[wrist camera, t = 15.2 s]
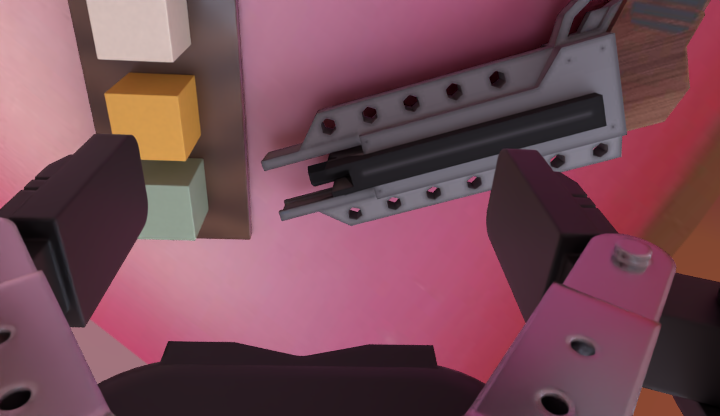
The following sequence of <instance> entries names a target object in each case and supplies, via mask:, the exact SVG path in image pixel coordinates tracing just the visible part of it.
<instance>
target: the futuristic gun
mask: <svg viewBox="0 0 720 416" xmlns="http://www.w3.org/2000/svg"><path fill="white" fill-rule="evenodd" d="M590 1H591V0H571V1H570V2H569V4H568V5H567V6H566V7H565V8H564V9H563V10H562V11H561V12H560V13H559V14H558V15H557V19H556V22H555V25H554V28H553V31H552V34H551V37H550V40H549V43H547V44H543V45H541V47H540V48H538V49H535V50H531V51H528V52H524V53H521V54H517V55H514V56H510V57H506V58H503V59H499V60H496V61H492V62H489V63H485V64H482V65H478V66H475V67H471V68H467V69H464V70H460V71H457V72H453V73H450V74H446V75H443V76H439V77H436V78H432V79H429V80H425V81H421V82H418V83H414V84H411V85H407V86H404V87H400V88H397V89H393V90H390V91H386V92H382V93H379V94H375V95H372V96H368V97H365V98H361V99H358V100H354V101H351V102H347V103H343V104H340V105H336V106H333V107H329V108H326V109H322V110H319V111H318V112H317V114H316V116H315V118H314V120H313V122H312V124H311V127H310V129H309V131H308V133H307V135H306V137H305V139H304V142H303V143H301V144H297V145H293V146H290V147H286V148H283V149H279V150H275V151H272V152H268V153H267V155H266V156H265V157H264V159H263V160H262V161H261V163H262V166H263V169H264V171H267V170H270V169H274V168H278V167H281V166H285V165H289V164H292V163H296V162H300V161H303V160H307V159H311V158H314V157H318V156H322V155H325V154H329V153H330V154H329V158H328V161H326V162H322V163H319V164H315V165H311V166H308V174H309V177H310V181H311V184H312V185H313V186H318V185H322V184H325V183H329V182H333V181H334V185H333V187H332V188H328V189H324V190H320V191H317V192H313V193H309V194H305V195H302V196H298V197H294V198H290V199H286V200H284V203H285V207H284V209H283V210H280V211H279V214H280V217H281V220H282V221H284V220H288V219H292V218H295V217H299V216H303V215H307V214H311V213H315V212H321V213H323V214H325V215H328V216H330V217H332V218H334V219H337V220H339V221H341V222H343V223H346V224H348V225H350V226H352V225H356V224H360V223H364V222H368V221H372V220H376V219H380V218H384V217H388V216H391V215H395V214H399V213H403V212H407V211H411V210H415V209H419V208H423V207H427V206H431V205H435V204H438V203H442V202H446V201H450V200H454V199H458V198H462V197H466V196H470V195H474V194H478V193H482V192H485V191H489V190H491V189H492V183H493V178H494V173H495V168H496V163H497V159H498V156H499V153H500V151H501V150H502V149H529V150H537V151H538V152H539V153H540V154H541V155H542V157H543V158H544V159H545V161H546V162H547V163H548V164H549V166H550V167H551V168H552V170H553V171H556V172H564V171H568V170H572V169H576V168H579V167H583V166H587V165H591V164H595V163H599V162H603V161H607V160H611V159H615V158H619V157H621V151H622V136H624V135H627V131H630V130H634V129H637V128H641V127H645V126H649V125H653V124H657V123H661V122H664V121H665V120H666V118H667V117H668V116H669V115H670V113H671V112H672V111H673V109H674V108H675V107H676V105H677V104H678V103H679V101H680V100H681V99H682V97H683V96H684V95H685V93H686V92H687V91H688V90H689V88H690V85H689V72H688V59H687V47H686V46H687V45H688V43H689V41H690V40H691V38H692V36H693V35H694V33H695V31H696V29H697V28H698V26H699V24H700V23H701V21H702V19H703V18H704V16H705V13H704V11H705V9H706V7H707V5H708V4H709V2H710V0H610V1H609V3H607V4H606V5H605V6H603V7H602V8H600V9H596V10H593V11H589V12H586V14H585V16H584V18H583V20H582V22H581V24H580V26H579V28H578V30H577V32H576V33H573V34H569V31H570V28H571V25H572V22H573V19H574V17H575V16H576V15H577V14H578V13H579V12H580V11H581V10H582V9H583V8H584V7H585V6H586V5H587V4H588V3H589V2H590ZM568 34H569V35H568ZM495 71H498V75H499V79H498V80H497V81H496V82H494V83H493V84H491V82H490V79H489V77H490V76H491V75H492V74H493V73H494V72H495ZM451 83H454V84H457V88H458V90H457V91H456V92H455V93H454V94H453V95H452V96H450V95H447V92H446V89H447V88H448V87H449V86H450V85H451ZM409 95H411V96H415V97H416V98H417V102H416V103H415V104H414V105H413V106H412V107H410V106H405V105H404V103H403V101H404V100H405V99H406V98H407V97H408V96H409ZM367 107H370V108H374V109H376V112H377V113H376V114H375V115H374V116H373V117H372V118H370V117H366V116H364V114H363V111H364V110H365V109H366V108H367ZM326 118H327V119H331V120H334V121H335V125H336V126H335V127H334V128H328V127H325V125H324V122H323V121H324V120H325V119H326ZM596 146H597V147H596ZM595 147H596V148H595ZM593 148H595V149H594V150H593ZM554 156H556V158H555V159H554V160H553V161H552V162H550V160H551V159H552V158H553V157H554ZM473 176H476V177H477V178H476V179H475V180H474V181H473V182H472V183H470V182H467V181H468V180H469V179H470V178H471V177H473ZM431 187H437V189H436V190H435V191H434V192H433V193H432V192H429V191H428V190H429V189H430V188H431ZM391 197H394V198H399V199H398V200H397V201H396V202H391V201H388V200H389V199H390V198H391ZM352 207H353V208H359V209H360V210H359V211H358V212H355V211H352V210H350V209H351V208H352Z"/></svg>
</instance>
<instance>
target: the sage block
mask: <svg viewBox="0 0 720 416" xmlns="http://www.w3.org/2000/svg"><path fill="white" fill-rule="evenodd" d="M141 163H142V169H143V175H144V180H145V186H146V192H147V198H148V215H147V220H146V224H145V226H144V228H143V230H142V232H141V233H140V235H139V237H138V238H137V239H154V240H193V241H195V240H196V238H197V236H198V233H199V231H200V228H201V226H202V224H203V221H204V219H205V217H206V214H207V212H208V209H209V208H208V199H207V189H206V180H205V170H204V161H203V159H201V158H187V160H186V161H164V160H141Z"/></svg>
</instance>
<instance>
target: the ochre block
mask: <svg viewBox="0 0 720 416" xmlns="http://www.w3.org/2000/svg"><path fill="white" fill-rule="evenodd" d="M104 95H105V100H106V105H107V110H108V115H109V120H110V125H111V130H112V134H125V135H133V136H134V137H135V138H136V140H137V143H138V146H139V151H140V157H141V160H164V161H186V160H187V158H188V157H189V155H190V153H191V151H192V150H193V148H194V146H195V145H196V143H197V141H198V139H199V138H200V136H201V130H200V121H199V111H198V102H197V93H196V83H195V76H194V75H175V74H150V73H128V74H127V75H126V76H124V77H123V78H122V79H121V80H120V81H119V82H117V83H116V84H115V85H114V86H113V87H111V88H110V89H109V90H108V91H107V92H105V94H104Z"/></svg>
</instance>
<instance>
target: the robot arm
mask: <svg viewBox="0 0 720 416" xmlns="http://www.w3.org/2000/svg"><path fill="white" fill-rule="evenodd" d="M147 215H148V198H147V192H146V186H145V180H144V175H143V169H142V163H141V157H140V151H139V146H138V143H137V140H136V138H135V137H134V136H133V135H125V134H94V135H93V136H92V137H91V138H90V139H89V140H88V141H87V142H86V143H85V144H84V145H83V146H82V147H81V148H80V149H78V150H77V151H76V152H75V153H74V154H73V155H68V156H66V157H64V158H62V159H60V160H58V161H55V162H53V163H51V164H49V165H48V166H47V167H46V168H44V169H43V170H42V171H41V172H40V173H39V174H38V175H37V176H36V177H35V180H31V181H30V182H29V183H28V184H27V185H26V186H25V187H24V190H21V191H20V192H18V193H17V194H16V195H15V196H14V197H13V198H12V199H11V200H10V201H9V202H8V203H7V204H5V205H4V206H3V207H2V208H1V209H0V416H633V413H634V410H635V407H636V404H637V401H638V398H639V395H640V391H641V388H642V387H643V388H648V389H651V390H655V391H659V392H663V393H666V394H670V395H672V396H673V398H674V400H675V401H676V403H677V405H678V407H679V408H680V410H681V412H682V414H683V415H684V416H720V282H716V281H712V280H707V279H702V278H697V277H693V276H688V275H683V274H679V273H675V272H676V265H675V262H674V260H673V259H672V258H671V257H670V255H669V254H667V253H666V252H665V251H664V250H662V249H661V248H660V247H658V246H656V245H654V244H652V243H650V242H648V241H646V240H643V239H640V238H637V237H634V236H630V235H625V234H619V233H618V232H617V231H616V230H615V228H614V227H613V226H612V225H611V224H610V222H609V221H608V220H607V219H606V218H605V216H604V215H603V214H602V213H601V211H600V210H599V209H598V208H596V205H595V204H594V203H593V202H592V200H591V199H590V198H587V194H586V193H585V192H584V191H583V189H582V188H581V187H580V186H579V185H578V183H577V182H575V181H573V180H572V179H570V178H569V177H567V176H565V175H564V174H562V173H560V172H556V171H553V170H552V168H551V167H550V166H549V164H548V163H547V162H546V161H545V159H544V158H543V157H542V155H541V154H540V153H539V152H538V151H537V150H529V149H502V150H501V151H500V153H499V156H498V159H497V163H496V168H495V173H494V178H493V183H492V189H491V194H490V199H489V204H488V209H487V217H486V224H487V233H488V236H489V239H490V241H491V244H492V246H493V248H494V251H495V253H496V255H497V258H498V260H499V262H500V264H501V267H502V269H503V271H504V274H505V276H506V278H507V281H508V283H509V285H510V288H511V290H512V292H513V295H514V297H515V299H516V302H517V304H518V306H519V309H520V311H521V313H522V315H523V318H524V320H525V322H526V324H525V325H524V327H523V328H522V330H521V331H520V333H519V334H518V336H517V337H516V339H515V340H514V342H513V343H512V345H511V346H510V348H509V349H508V351H507V352H506V354H505V355H504V357H503V358H502V360H501V362H500V363H499V365H498V366H497V368H496V369H495V371H494V372H493V374H492V375H491V377H490V378H489V380H488V381H487V383H486V384H485V383H483V382H481V381H479V380H477V379H475V378H473V377H471V376H469V375H466V374H464V373H462V372H459V371H456V370H452V369H449V368H446V367H442V366H438V365H437V362H436V357H435V352H434V347H433V345H374V344H369V345H363V346H358V347H352V348H347V349H341V350H336V351H330V352H325V353H319V354H314V355H308V356H296V355H291V354H286V353H282V352H277V351H272V350H268V349H263V348H258V347H254V346H249V345H245V344H240V343H235V342H182V341H168V343H167V346H166V348H165V351H164V354H163V356H162V359H161V361H160V362H157V363H152V364H148V365H144V366H141V367H137V368H134V369H131V370H129V371H126V372H123V373H120V374H118V375H115V376H113V377H111V378H109V379H107V380H104V381H102V382H101V383H99V384H97V382H96V381H95V378H94V376H93V374H92V372H91V370H90V368H89V366H88V364H87V362H86V360H85V358H84V355H83V353H82V351H81V349H80V347H79V345H78V343H77V341H76V339H75V337H74V335H73V333H72V331H71V328H70V327H85V326H86V324H87V323H88V321H89V319H90V318H91V316H92V314H93V313H94V311H95V309H96V307H97V306H98V304H99V302H100V301H101V299H102V297H103V296H104V294H105V292H106V291H107V289H108V287H109V286H110V284H111V282H112V280H113V279H114V277H115V275H116V274H117V272H118V270H119V269H120V267H121V265H122V264H123V262H124V260H125V259H126V257H127V255H128V253H129V252H130V250H131V248H132V247H133V245H134V243H135V242H136V240H137V238H138V237H139V235H140V233H141V232H142V230H143V228H144V226H145V224H146V220H147Z"/></svg>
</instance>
